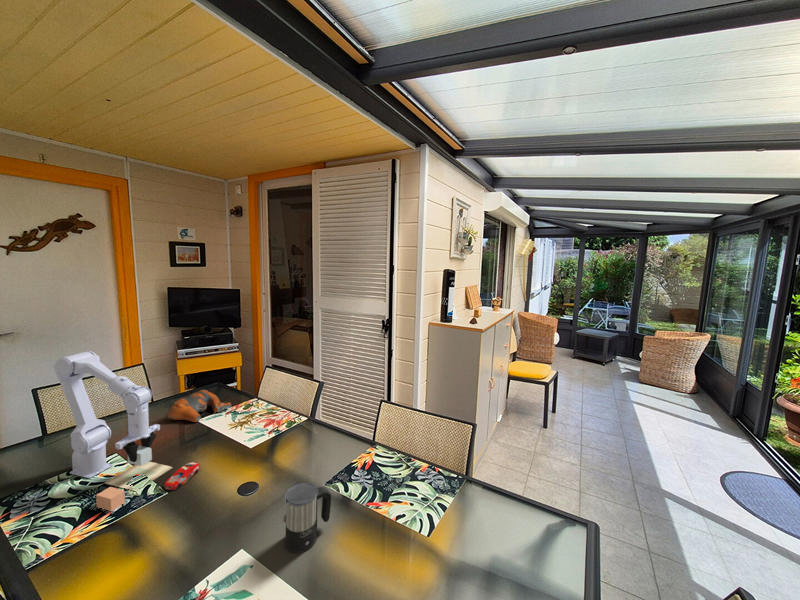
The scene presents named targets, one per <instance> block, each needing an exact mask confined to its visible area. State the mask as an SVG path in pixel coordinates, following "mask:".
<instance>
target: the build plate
mask: <svg viewBox="0 0 800 600" xmlns="http://www.w3.org/2000/svg"><path fill="white" fill-rule="evenodd" d="M173 468H174V467H173V466H171V465H165V464H161V463H158V462H152V461H149V462H147V463H145V464H144V465H142V466H139V465H135V464H133V466H131V467H129V468H128V469H125V470H124V471H123V472H121V473H119V474H117V475H115V476H114V477H111V478H109V479H108V480H107V481H105V482H104V484H106V485H110V486H112V487H113V486H114V487H115V488H116V487H117V488H119V489H120V488H121V489H124V488H125V489H124V490H128V489H129V491H131V489H133V488H132V487H134V486H133V485H131V484H129V485H126V484H127V483H126V482H129V481H130V480H131V479H132V478H133V476H135V475H136V474H139V475H140V474H142V475H146V476H147V477H148V479H150V480H151V482H153V481H155V480H157V479H158V478H159V477H160V476H162V475H164V474H166V473H167V472H168V471H170V470H172V469H173ZM131 481H133V480H131ZM130 485H131V486H130ZM132 492H135V491H134V490H133V491H132Z"/></svg>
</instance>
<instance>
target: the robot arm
mask: <svg viewBox="0 0 800 600" xmlns="http://www.w3.org/2000/svg"><path fill="white" fill-rule="evenodd" d="M53 369H54V371H55V374H56V377H57V379H58V382H59V383H60V386H61V389H62V391H63V394H64V397H65V399H66V402H67V404H68V407H69V410H70V412H71V414H72V417H73V420H74V423H75V425H76V426H75V428H74V429H73V431H72V432H71V433H70V435H69V436H70V439H71V440H70V441H71V445H70V446H71V449H72V450H73V452H72V455H71V461H72V470H71V471H70V472H69V474H70V475H74V476H79V477H81V478H82V477H83V478H85V479H91V478H93V477H94V476H97V475H99V474H100V473H102V472H105V471H106V470H108V469H110V468H111V467H113V465H114V464H112V463H108V462H107V452H106V451H107V447H106V445H107V443H108V440H109V439H110V438H111V436H112V430H111V428H110V427H109V425H108V424H107V423H106V420H104V419H98V418H97V416H96V413H95V411H94V408H93V406H92V403H91V400H90V398H89V395H88V393H87V390H86V387H85V384H84V381H83V378H84V377H85V375H86V374H90V375H91V376H93V377H95V378H96V379H98V380H100V381H101V382H104V383H105V384H107V390H109V391H110V392H111V393H113V394H115V395H116V396H118V397H119V398H120V399H122V403H123V405H124V407H125V408H126V409H125V411H126V413H127V422H128V423H127V424H128V427H127V428H128V434H127V435H126V436H125V437H123V438H122V439H121V440H119V441H118V442H115V443H114V444H115V449H116V450H121V449H122V450H124V451H125V452H126V455H127V458H128V457H129V459H130V461H132V462H135V461H136V460H137V449H138V446H139V445H140V444H141V446H144V447H149V448H152V444H153V443H154V441H155V439H156V437H157V433H154V432H156V431H157V432H158V431H160V430H161V424H158V423H155V424H153V425H150V424H149V423H150V422H149V401H151V400H152V398H153V393H152V390H151V389H150V388H149V387H148V386H143V385H142V386H141V385H138V384H136V383H135V382H133V381H132V380H130V379H129V378H128V377H127V376H124V375H119V376H118V375H117V374H115V373H114V372H113V371H112V370H111V369H109V368H108V367H107V366H106V365H105V364H104V363H102V362H101V359H100V355H97V354H96V353H95V352H93V351H92V350H86V351H83V352H79V353H75V354H71V355H68V356H62V357H61V356H60V357H59V358H58V359H57V360H56V361H55V364H54V365H53ZM149 425H150V426H149ZM138 440H140V442H141V443H140V444H138V443H136V441H138Z"/></svg>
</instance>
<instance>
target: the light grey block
mask: <svg viewBox="0 0 800 600" xmlns="http://www.w3.org/2000/svg"><path fill="white" fill-rule="evenodd" d="M152 460H153V451H152V447H151V448H149V447H144V446H142V445H140V444H139V446H138V449H137V460H136V461H135V462H132V461H130V459H129V457H128V456H127V463H128V464H130V465H131V464H132V465H139V466H142V465H144V464H145V463H147V462H151V461H152Z"/></svg>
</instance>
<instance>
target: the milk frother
mask: <svg viewBox="0 0 800 600" xmlns="http://www.w3.org/2000/svg"><path fill="white" fill-rule="evenodd" d="M319 499H322V500H321V511H320V513H321V515H320V517H321V520H322V521H323V522H325V523H327V522H328V521H329V520H330V515H331V504H332V494H331V492H330V491H329V490H328V488H326V486H325V487H323V486H319V487H317V486H316V485H315V484H313V483H307V482H301V483H298V484H294V485H293V486H291V487H289V489H288V490H286V493H285V494H284V501H285V537H284V541H283V544H284V545H283V546H284V548H285V549H286V550H287V551H289V552H291V553H295V554H297V553H299V554H300V553H303V552H307V551H308V550H310V549H311V548H312V547H313V546H314V545H315V543H316V542H317V538H318V535H317V530H318V500H319Z"/></svg>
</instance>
